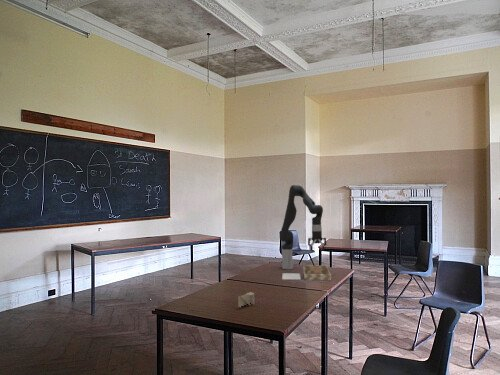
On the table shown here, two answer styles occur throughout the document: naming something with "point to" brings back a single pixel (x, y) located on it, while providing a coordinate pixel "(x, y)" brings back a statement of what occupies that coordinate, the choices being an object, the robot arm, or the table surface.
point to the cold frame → (310, 276)
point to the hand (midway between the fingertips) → (317, 251)
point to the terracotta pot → (316, 269)
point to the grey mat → (291, 276)
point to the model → (246, 299)
